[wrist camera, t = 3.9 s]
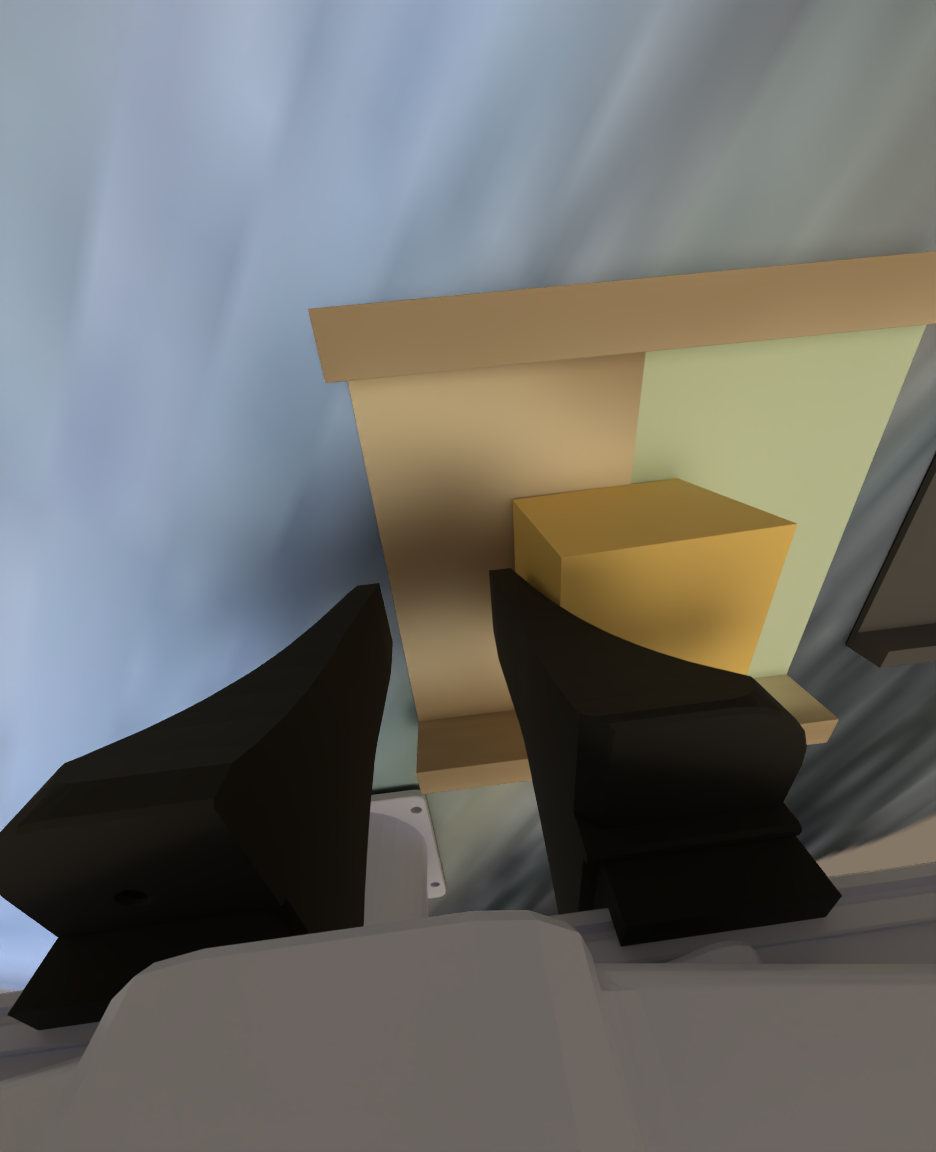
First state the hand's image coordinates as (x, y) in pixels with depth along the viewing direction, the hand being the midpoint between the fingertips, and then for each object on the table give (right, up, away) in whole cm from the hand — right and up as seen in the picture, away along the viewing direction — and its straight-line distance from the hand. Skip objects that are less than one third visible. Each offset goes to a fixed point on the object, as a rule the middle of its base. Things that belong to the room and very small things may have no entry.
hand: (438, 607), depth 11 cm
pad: (+10, +2, +2) cm, 10 cm away
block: (+5, +1, +1) cm, 5 cm away
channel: (+6, +2, +2) cm, 6 cm away
